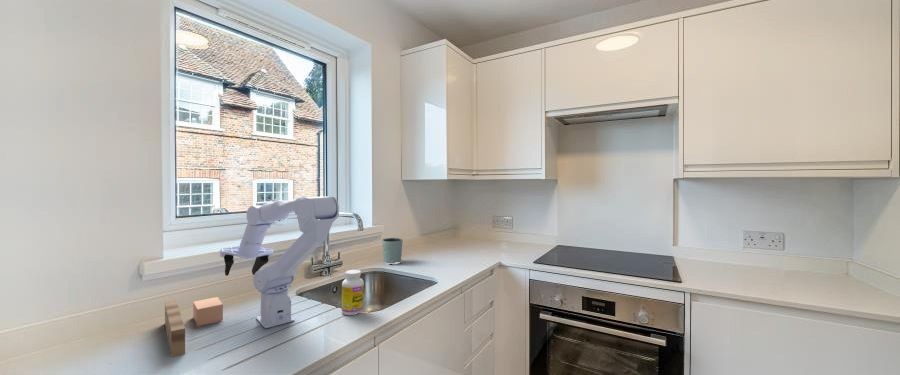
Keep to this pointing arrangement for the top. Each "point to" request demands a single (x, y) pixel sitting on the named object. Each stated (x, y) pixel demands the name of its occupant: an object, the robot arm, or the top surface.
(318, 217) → the robot arm
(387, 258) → the green plant pot
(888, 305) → the top surface
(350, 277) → the supplement bottle
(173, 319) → the plank
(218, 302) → the block
